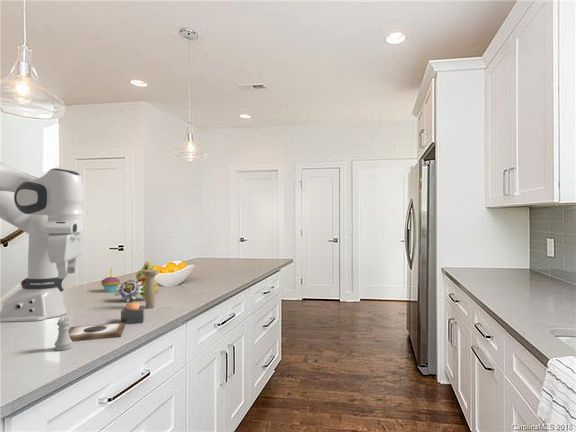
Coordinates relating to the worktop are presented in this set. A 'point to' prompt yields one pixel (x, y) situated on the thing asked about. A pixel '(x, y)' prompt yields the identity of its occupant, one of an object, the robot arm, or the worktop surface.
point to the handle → (150, 287)
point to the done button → (132, 306)
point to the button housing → (132, 315)
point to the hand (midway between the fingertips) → (67, 275)
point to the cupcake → (110, 283)
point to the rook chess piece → (63, 336)
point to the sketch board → (96, 331)
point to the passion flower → (131, 290)
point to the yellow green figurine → (143, 278)
